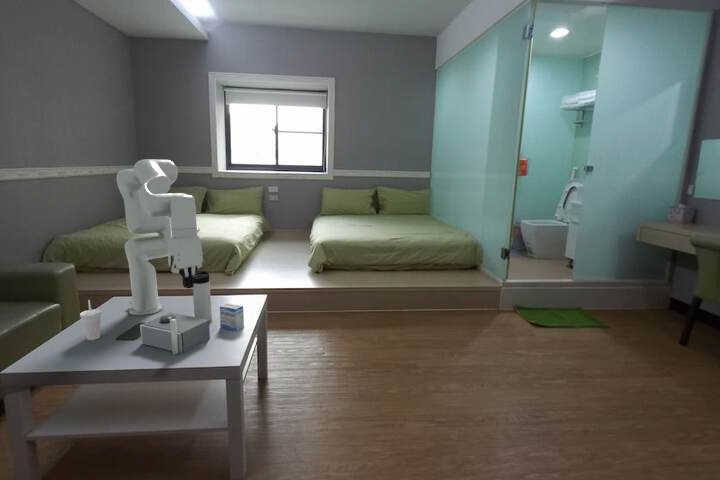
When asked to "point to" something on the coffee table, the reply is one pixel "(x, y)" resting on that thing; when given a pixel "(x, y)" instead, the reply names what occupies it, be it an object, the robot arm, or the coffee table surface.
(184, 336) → the cabinet body
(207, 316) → the travel mug
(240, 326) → the medicine box
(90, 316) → the smoothie
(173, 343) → the side door
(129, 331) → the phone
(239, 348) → the coffee table surface
